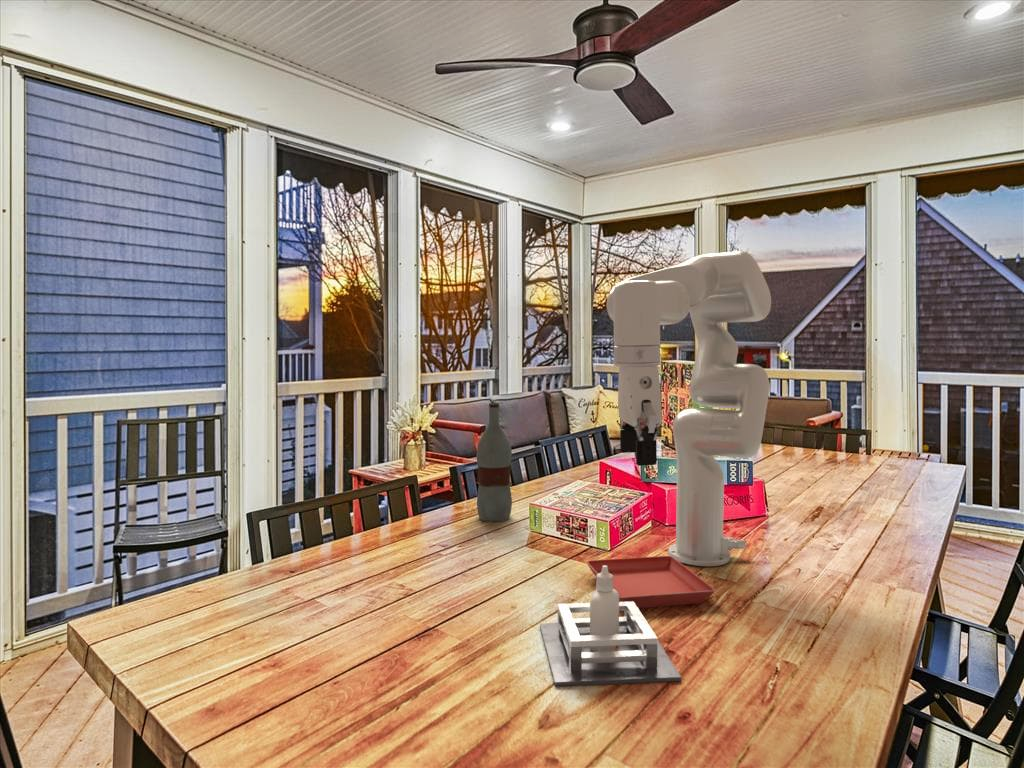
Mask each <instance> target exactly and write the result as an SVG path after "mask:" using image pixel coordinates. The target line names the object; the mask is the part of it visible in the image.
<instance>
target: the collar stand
mask: <svg viewBox="0 0 1024 768" xmlns="http://www.w3.org/2000/svg"><path fill="white" fill-rule="evenodd" d="M619 612H623V613H624V614H623V616H619V634H613V635H590V617H581V618H580V617H578V618H577V617H575V618H573V613H590V602H578V603H577V602H576V603H575V602H574V603H557V622H547V623H546V622H543V623H539V629H540V633H541V636H542V640H543V641H542V642H543V644H544V648H545V652H546V657H547V660H549V661H548V663H549V669H550V671H551V675H552V680H553V684H554V687H578V686H579V687H580V686H598V685H599V686H601V685H602V686H604V685H623V684H625V685H627V684H646V683H647V684H648V683H649V684H651V683H652V684H653V683H671V682H682V676H681V674H680V672H679V671H678V670H677V668H676V666H675V665H674V663H673V662H672V660H671V659H670V657H669V656H668V654H667V653H666V650H664V648H663V647H662V645H661V643H660V642H659V640H658V638H659V637H657V635H656V634H655V632H654V630H653V629H652V627H651V625H649V623H648V621H647V619H646V618H645V616H644V615H643V614H642V612H641V611H640V608H638V607H637V606H636V604H635V603H634V601H631V602H619ZM613 645H617V646H616V648H615V649H613V650H612V651H607V652H594V651H591V650H590V646H613Z"/></svg>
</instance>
